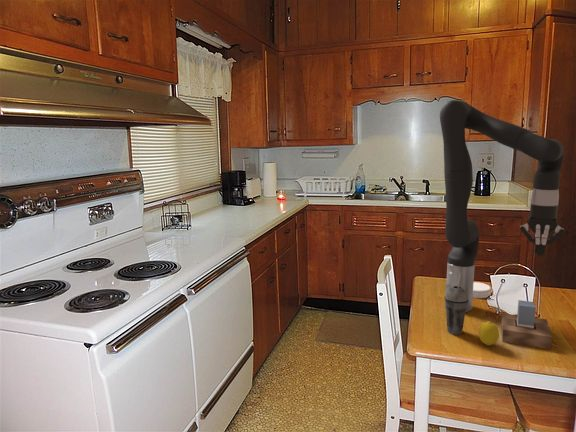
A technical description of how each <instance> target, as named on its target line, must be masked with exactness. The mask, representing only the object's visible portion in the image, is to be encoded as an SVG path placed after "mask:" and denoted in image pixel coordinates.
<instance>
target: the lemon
mask: <svg viewBox="0 0 576 432" xmlns="http://www.w3.org/2000/svg"><path fill="white" fill-rule="evenodd" d="M478 336H479V339H480V341H481V342H482V343H483V344H485V345H486V346H487V347H490V346H493V345H495V344H497V342H498V340H499V339H500V331H499V328H498V326H497V325H496V324H495V323H493V322H492V321H490V320H489V321H485V322H483V323H481V324H480V327H479V330H478Z"/></svg>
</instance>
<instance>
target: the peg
mask: <svg viewBox="0 0 576 432" xmlns="http://www.w3.org/2000/svg"><path fill="white" fill-rule="evenodd" d="M517 303H518V304H517V311H516V312H517V313H516V315H517V324H516V327H522V328H529V329H534V319H535V318H536V304H535V302H534V301H529V300H528V301H527V300H521V299H520V300H519V299H518V302H517Z"/></svg>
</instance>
